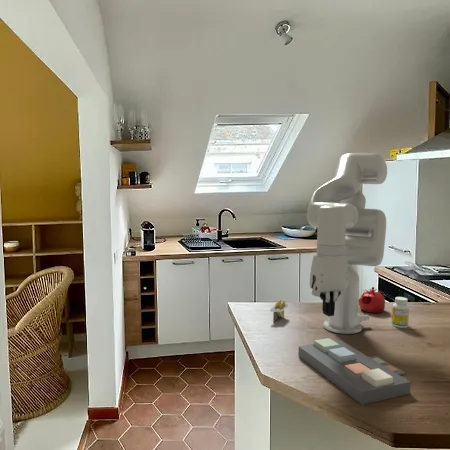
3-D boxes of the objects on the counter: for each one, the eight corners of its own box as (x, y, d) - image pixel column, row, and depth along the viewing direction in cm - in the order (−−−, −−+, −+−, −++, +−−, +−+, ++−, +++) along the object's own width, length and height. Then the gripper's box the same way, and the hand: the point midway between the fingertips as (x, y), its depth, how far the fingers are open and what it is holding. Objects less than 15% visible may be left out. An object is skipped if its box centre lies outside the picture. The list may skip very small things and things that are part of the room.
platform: (302, 315, 164) (303, 298, 163) (287, 331, 148) (288, 312, 147) (272, 310, 169) (272, 294, 168) (254, 325, 153) (254, 307, 152)
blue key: (343, 356, 122) (343, 347, 122) (354, 363, 118) (355, 354, 117) (328, 359, 121) (328, 349, 120) (339, 366, 116) (339, 356, 116)
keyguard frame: (339, 349, 132) (339, 339, 131) (409, 393, 106) (410, 381, 105) (298, 356, 127) (298, 346, 126) (361, 404, 101) (362, 392, 100)
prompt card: (376, 357, 126) (376, 355, 126) (405, 374, 116) (405, 371, 116) (362, 360, 124) (362, 357, 124) (389, 377, 114) (389, 374, 114)
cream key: (377, 378, 110) (378, 368, 109) (392, 387, 105) (393, 377, 105) (361, 382, 108) (361, 371, 107) (375, 391, 103) (375, 380, 103)
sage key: (328, 347, 129) (329, 338, 129) (339, 353, 124) (339, 344, 124) (314, 349, 127) (314, 340, 127) (323, 356, 122) (324, 346, 122)
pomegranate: (379, 306, 174) (380, 283, 173) (389, 314, 164) (391, 290, 163) (354, 306, 174) (355, 283, 172) (363, 314, 164) (364, 290, 163)
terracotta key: (359, 372, 116) (359, 362, 116) (372, 380, 112) (372, 370, 111) (343, 375, 114) (344, 365, 114) (355, 384, 110) (356, 373, 109)
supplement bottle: (405, 329, 149) (406, 301, 148) (389, 325, 152) (390, 298, 151) (410, 325, 153) (412, 298, 152) (394, 321, 156) (396, 295, 155)
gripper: (344, 246, 128) (342, 307, 130) (299, 249, 123) (298, 313, 125) (361, 250, 121) (358, 315, 123) (315, 254, 116) (312, 322, 118)
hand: (328, 314), depth 124 cm, fingers closed
